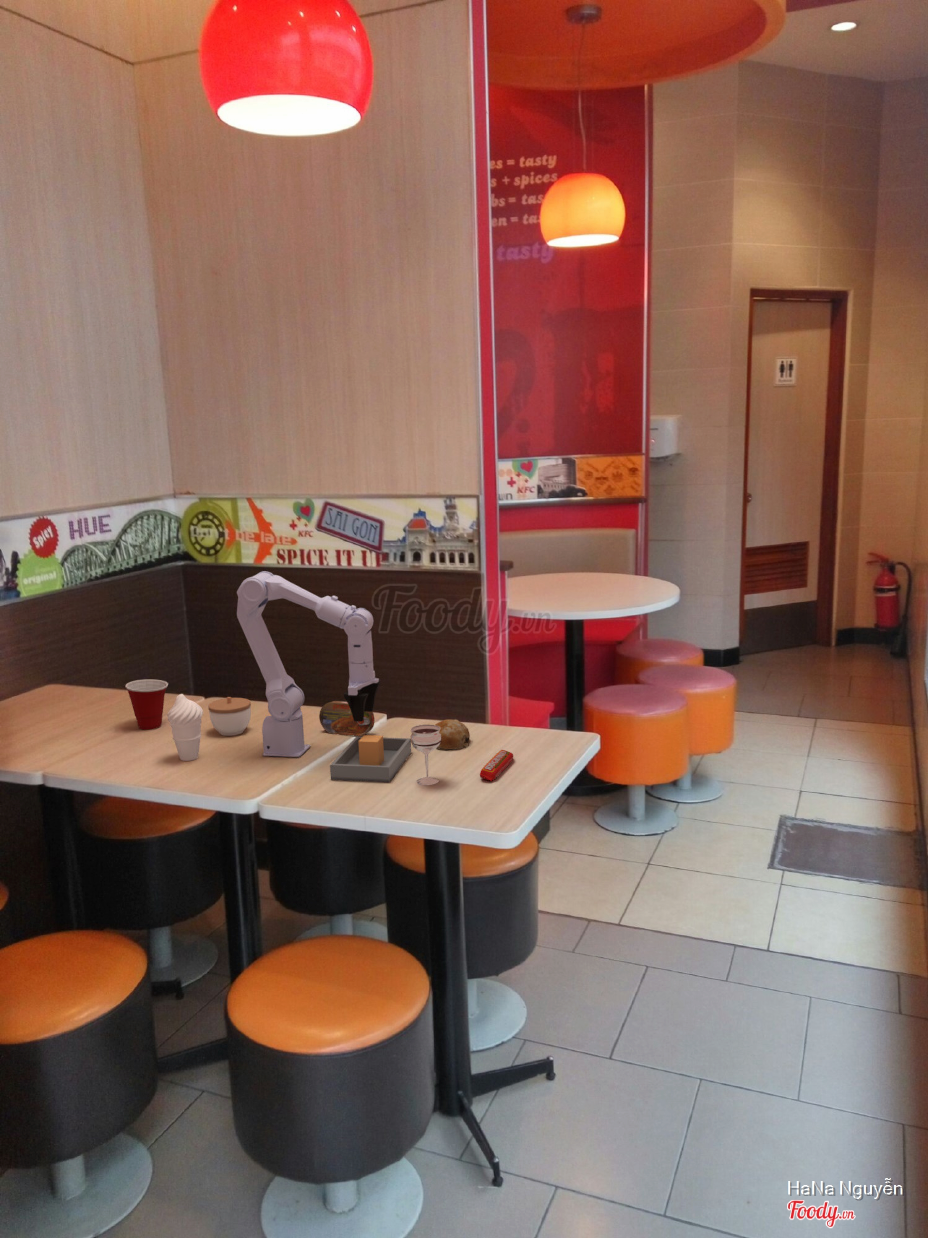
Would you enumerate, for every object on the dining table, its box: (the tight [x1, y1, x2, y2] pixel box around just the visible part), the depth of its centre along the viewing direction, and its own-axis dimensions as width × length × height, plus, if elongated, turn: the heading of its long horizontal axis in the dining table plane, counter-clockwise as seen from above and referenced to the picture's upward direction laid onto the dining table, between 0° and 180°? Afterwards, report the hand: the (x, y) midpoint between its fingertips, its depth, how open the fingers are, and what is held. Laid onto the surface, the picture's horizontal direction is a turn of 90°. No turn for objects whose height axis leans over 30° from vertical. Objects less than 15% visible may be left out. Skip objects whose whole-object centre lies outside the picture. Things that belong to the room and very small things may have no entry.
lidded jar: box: [207, 696, 252, 737], centre depth 253 cm, size 11×11×9 cm
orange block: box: [358, 734, 384, 766], centre depth 226 cm, size 4×4×6 cm
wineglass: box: [409, 724, 441, 786], centre depth 215 cm, size 7×7×12 cm
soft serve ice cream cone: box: [166, 693, 204, 762], centre depth 234 cm, size 8×8×16 cm
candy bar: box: [479, 749, 514, 782], centre depth 221 cm, size 16×4×3 cm, turn 159°
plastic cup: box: [125, 678, 169, 731], centre depth 260 cm, size 11×11×12 cm
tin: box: [318, 700, 376, 737], centre depth 249 cm, size 15×3×8 cm, turn 67°
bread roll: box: [434, 718, 471, 751], centre depth 239 cm, size 10×10×8 cm
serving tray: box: [329, 736, 412, 783], centre depth 226 cm, size 14×20×4 cm
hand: (363, 716), depth 233 cm, fingers open, 7 cm apart
